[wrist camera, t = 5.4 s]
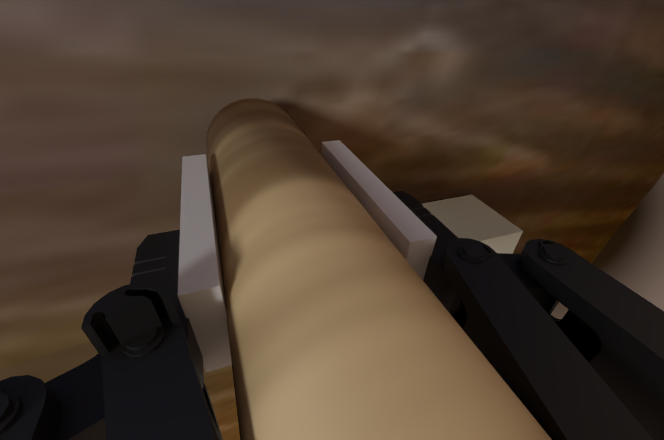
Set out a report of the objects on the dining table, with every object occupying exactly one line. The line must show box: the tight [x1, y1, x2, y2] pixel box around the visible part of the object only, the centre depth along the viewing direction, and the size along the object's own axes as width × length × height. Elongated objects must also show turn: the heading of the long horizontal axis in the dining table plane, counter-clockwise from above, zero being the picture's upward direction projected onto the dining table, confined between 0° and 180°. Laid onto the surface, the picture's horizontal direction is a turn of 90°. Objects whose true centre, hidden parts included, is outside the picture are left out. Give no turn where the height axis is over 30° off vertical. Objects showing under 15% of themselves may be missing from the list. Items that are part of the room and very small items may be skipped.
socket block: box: [422, 195, 523, 254], centre depth 25 cm, size 14×14×5 cm
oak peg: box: [206, 98, 552, 440], centre depth 9 cm, size 4×4×16 cm
